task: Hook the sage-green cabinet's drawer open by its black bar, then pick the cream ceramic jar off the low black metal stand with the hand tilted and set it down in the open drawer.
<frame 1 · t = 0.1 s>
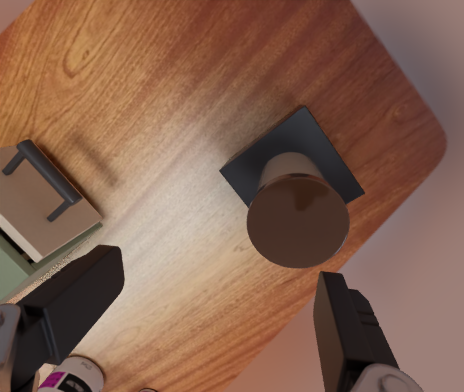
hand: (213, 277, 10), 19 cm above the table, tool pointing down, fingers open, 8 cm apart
drawer: (14, 217, 29), point 5 cm above the table, slide at 0.5 cm
cabinet: (34, 219, 36), on the table
supplement can: (84, 370, 45), on the table
stand: (287, 168, 28), on the table
jar: (289, 181, 23), point 5 cm above the table, touching stand
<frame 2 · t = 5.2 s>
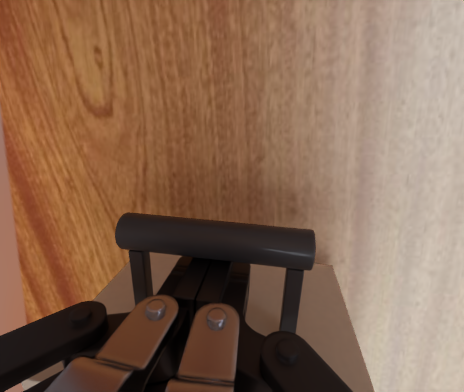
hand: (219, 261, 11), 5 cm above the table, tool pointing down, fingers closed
drawer: (217, 382, 14), point 5 cm above the table, slide at 1.3 cm, touching gripper
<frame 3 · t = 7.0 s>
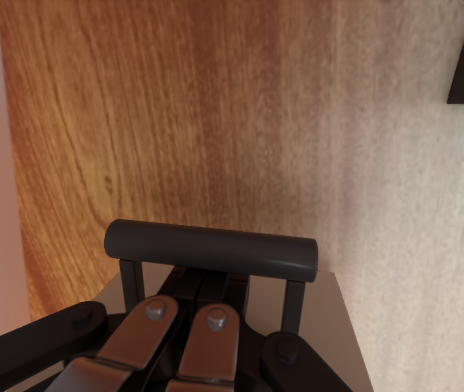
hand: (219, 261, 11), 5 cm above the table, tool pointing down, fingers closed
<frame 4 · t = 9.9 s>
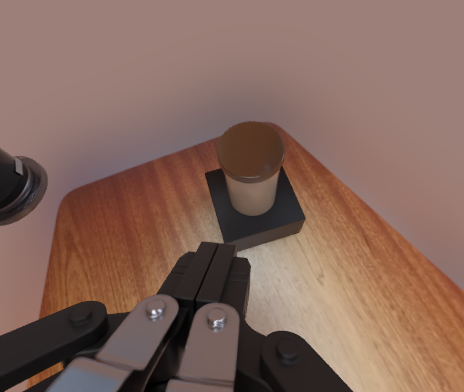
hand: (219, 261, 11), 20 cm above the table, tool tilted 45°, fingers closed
stand: (252, 210, 34), on the table
jar: (252, 194, 30), point 5 cm above the table, touching stand
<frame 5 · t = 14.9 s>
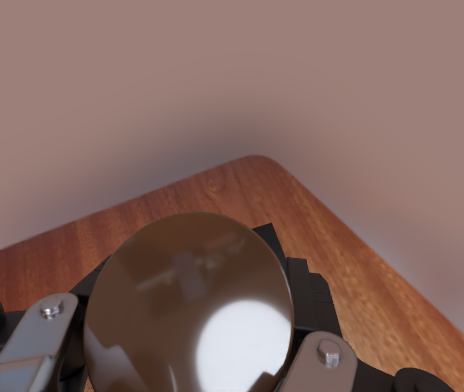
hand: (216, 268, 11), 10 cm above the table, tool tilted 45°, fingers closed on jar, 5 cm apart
stand: (233, 319, 19), on the table
jar: (225, 317, 15), point 5 cm above the table, touching gripper, stand
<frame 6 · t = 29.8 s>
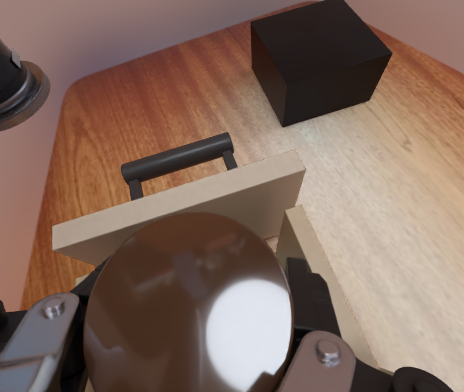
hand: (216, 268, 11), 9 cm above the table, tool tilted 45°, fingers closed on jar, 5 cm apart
drawer: (219, 304, 14), point 5 cm above the table, slide at 8.6 cm, touching gripper
stand: (307, 83, 27), on the table
jar: (225, 317, 15), point 4 cm above the table, touching gripper
when the fingers open (10 cm above the table, at t = 34.3 s): jar drops 3 cm, resting on drawer.
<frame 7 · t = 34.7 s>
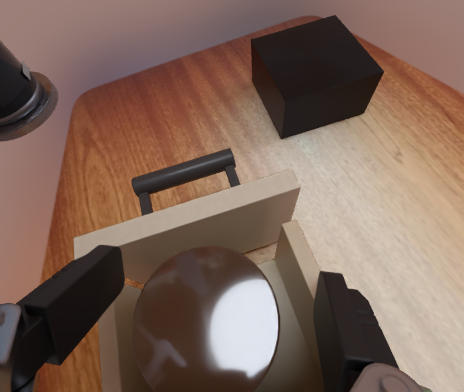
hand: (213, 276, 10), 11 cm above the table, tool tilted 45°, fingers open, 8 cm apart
drawer: (222, 307, 15), point 5 cm above the table, slide at 8.6 cm, touching jar
stand: (304, 96, 29), on the table
jar: (229, 321, 18), point 2 cm above the table, touching drawer
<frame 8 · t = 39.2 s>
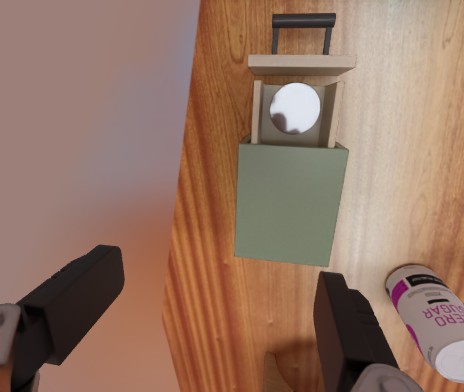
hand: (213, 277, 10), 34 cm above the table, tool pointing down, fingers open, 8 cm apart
drawer: (294, 103, 34), point 5 cm above the table, slide at 8.6 cm, touching jar
cabinet: (283, 184, 44), on the table
supplement can: (409, 282, 46), on the table
planter: (309, 368, 56), on the table
jar: (291, 108, 38), point 2 cm above the table, touching drawer
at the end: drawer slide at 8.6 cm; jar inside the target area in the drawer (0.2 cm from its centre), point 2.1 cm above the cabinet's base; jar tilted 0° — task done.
